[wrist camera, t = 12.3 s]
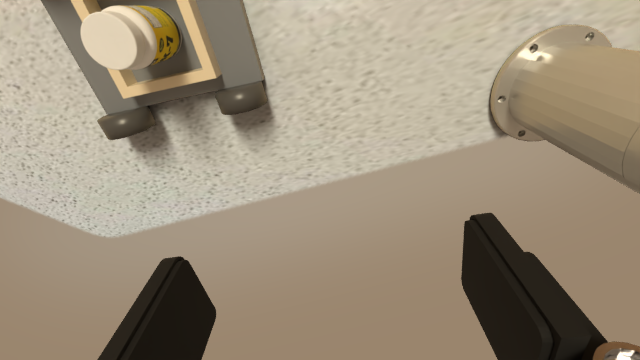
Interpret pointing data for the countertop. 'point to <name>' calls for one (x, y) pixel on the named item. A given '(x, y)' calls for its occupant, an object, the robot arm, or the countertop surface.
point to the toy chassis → (170, 61)
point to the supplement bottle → (130, 36)
